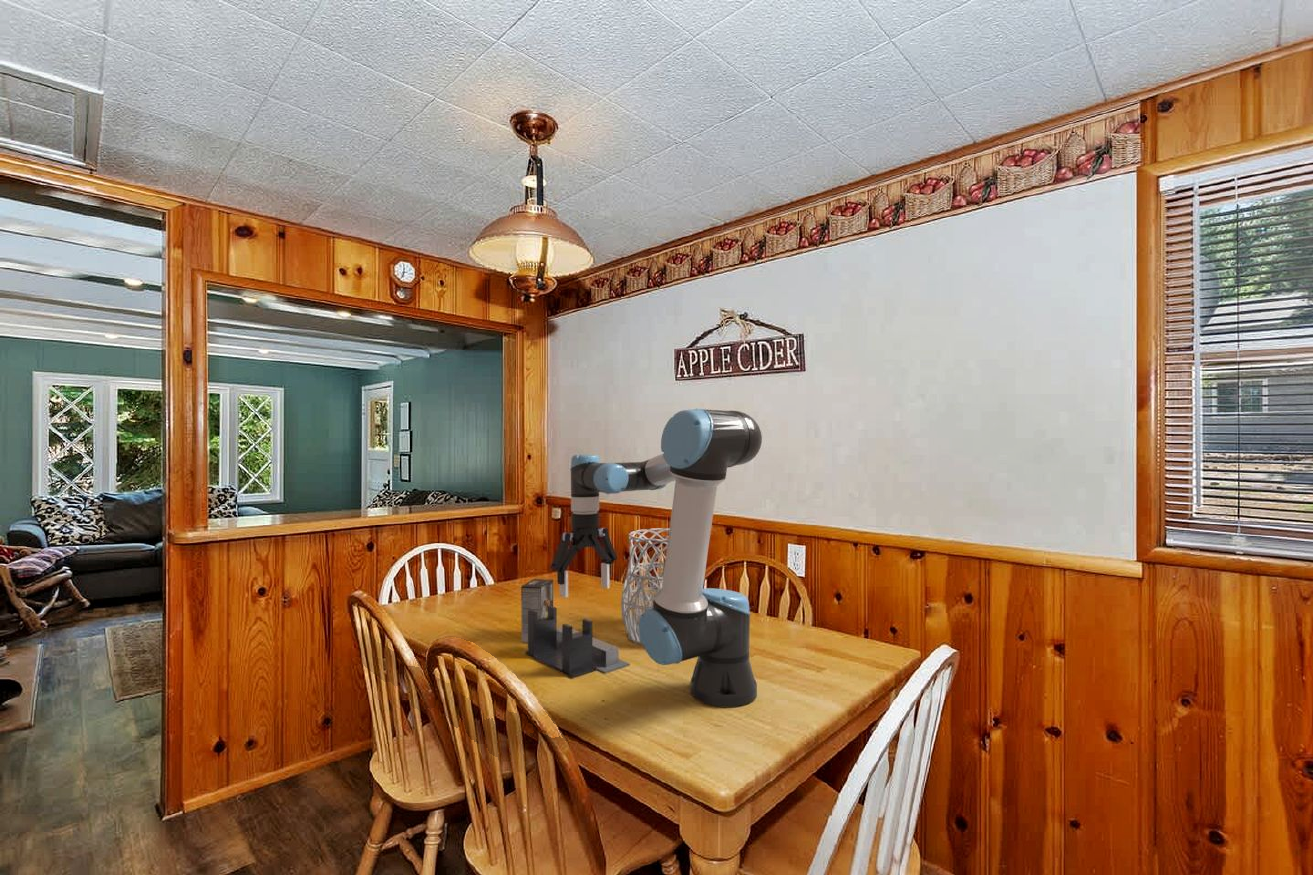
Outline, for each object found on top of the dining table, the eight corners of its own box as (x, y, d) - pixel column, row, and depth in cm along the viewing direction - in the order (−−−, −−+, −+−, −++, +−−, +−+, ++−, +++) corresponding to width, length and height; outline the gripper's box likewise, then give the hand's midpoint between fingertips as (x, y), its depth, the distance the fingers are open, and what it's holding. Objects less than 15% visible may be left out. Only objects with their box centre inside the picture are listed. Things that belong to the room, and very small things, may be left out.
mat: (629, 665, 154) (629, 663, 154) (605, 673, 148) (605, 671, 148) (566, 638, 174) (566, 636, 174) (543, 644, 169) (543, 643, 169)
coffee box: (533, 631, 179) (533, 578, 179) (553, 633, 178) (554, 579, 178) (520, 642, 170) (520, 585, 170) (541, 643, 169) (542, 586, 169)
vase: (658, 656, 160) (659, 543, 159) (604, 634, 178) (604, 532, 178) (720, 636, 175) (721, 533, 175) (665, 617, 194) (665, 524, 194)
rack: (595, 670, 150) (596, 622, 150) (572, 678, 145) (572, 628, 145) (547, 647, 166) (547, 604, 166) (525, 653, 161) (525, 609, 161)
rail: (618, 663, 154) (618, 647, 154) (606, 667, 151) (606, 651, 151) (564, 639, 171) (564, 625, 171) (552, 643, 169) (552, 628, 169)
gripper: (612, 507, 172) (612, 581, 172) (537, 515, 155) (537, 597, 155) (629, 509, 167) (629, 586, 166) (553, 517, 149) (553, 603, 149)
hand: (585, 591), depth 161 cm, fingers open, 13 cm apart
